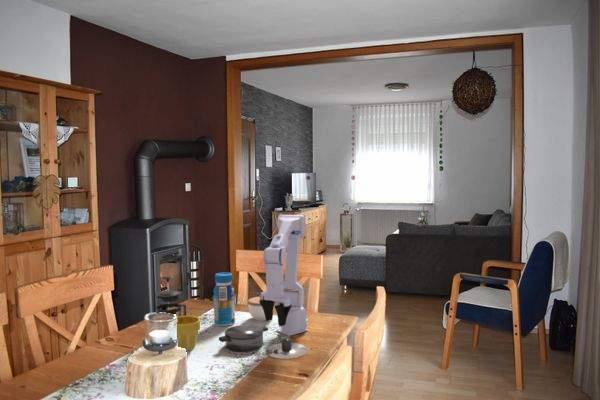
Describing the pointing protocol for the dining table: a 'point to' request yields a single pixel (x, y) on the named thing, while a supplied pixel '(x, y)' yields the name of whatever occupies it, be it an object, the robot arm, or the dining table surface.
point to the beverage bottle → (224, 300)
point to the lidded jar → (256, 309)
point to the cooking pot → (243, 338)
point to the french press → (170, 300)
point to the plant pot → (187, 331)
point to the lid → (286, 350)
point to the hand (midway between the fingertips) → (275, 322)
